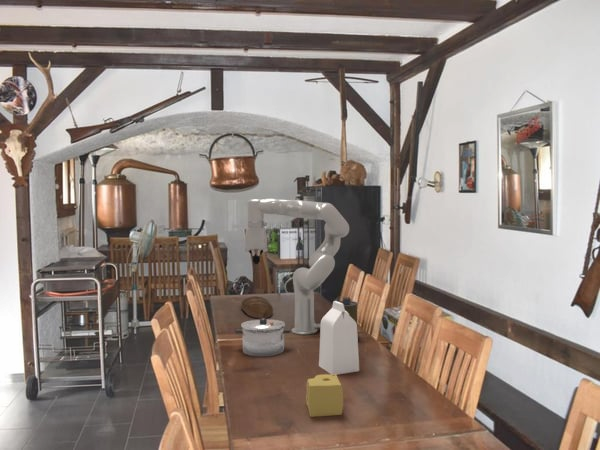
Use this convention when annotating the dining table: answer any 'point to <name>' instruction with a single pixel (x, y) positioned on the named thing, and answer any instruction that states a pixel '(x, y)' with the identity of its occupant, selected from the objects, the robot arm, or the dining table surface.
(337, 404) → the cheese
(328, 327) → the milk
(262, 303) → the bread
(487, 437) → the dining table surface
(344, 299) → the canister
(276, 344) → the pot
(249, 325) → the lid
